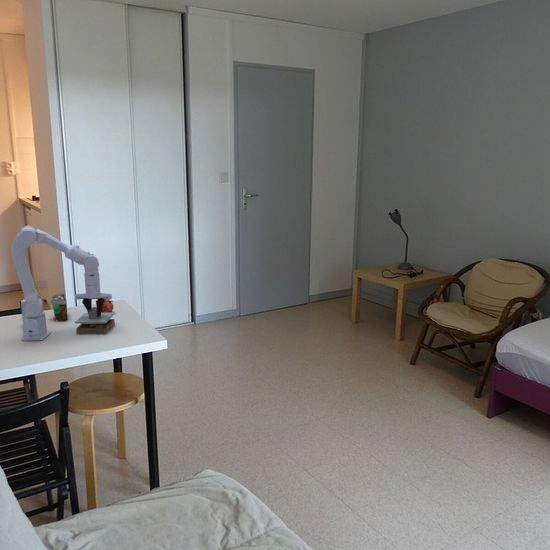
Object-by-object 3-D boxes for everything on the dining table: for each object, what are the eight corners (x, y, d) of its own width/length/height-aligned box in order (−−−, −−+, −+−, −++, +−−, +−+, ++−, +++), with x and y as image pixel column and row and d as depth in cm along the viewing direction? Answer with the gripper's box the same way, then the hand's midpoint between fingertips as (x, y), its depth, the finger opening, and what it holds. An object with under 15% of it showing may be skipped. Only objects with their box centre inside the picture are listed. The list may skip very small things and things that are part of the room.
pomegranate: (95, 320, 240) (109, 309, 236) (88, 306, 241) (101, 295, 237) (107, 317, 246) (120, 306, 242) (99, 304, 247) (113, 293, 243)
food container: (51, 315, 239) (49, 294, 237) (66, 313, 242) (64, 292, 240) (52, 323, 228) (50, 301, 226) (68, 321, 231) (66, 299, 229)
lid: (105, 324, 214) (104, 313, 213) (75, 324, 214) (74, 313, 213) (114, 315, 226) (113, 304, 225) (85, 315, 226) (84, 304, 225)
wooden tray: (106, 334, 215) (105, 328, 214) (76, 334, 215) (76, 328, 214) (114, 324, 227) (114, 319, 226) (86, 324, 227) (86, 319, 226)
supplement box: (36, 327, 224) (33, 301, 221) (22, 327, 224) (19, 301, 221) (42, 322, 229) (39, 297, 227) (28, 322, 229) (26, 297, 227)
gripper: (113, 281, 220) (115, 312, 223) (78, 281, 220) (80, 313, 223) (108, 286, 213) (110, 318, 217) (72, 286, 213) (74, 318, 216)
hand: (95, 315), depth 219 cm, fingers closed on lid, 3 cm apart
